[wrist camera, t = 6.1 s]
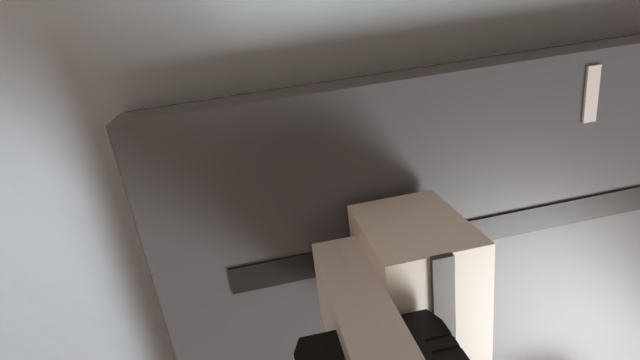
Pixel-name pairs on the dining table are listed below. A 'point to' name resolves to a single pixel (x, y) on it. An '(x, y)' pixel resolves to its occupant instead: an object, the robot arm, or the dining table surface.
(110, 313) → the dining table surface
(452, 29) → the dining table surface
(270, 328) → the fader panel
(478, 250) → the white fader
